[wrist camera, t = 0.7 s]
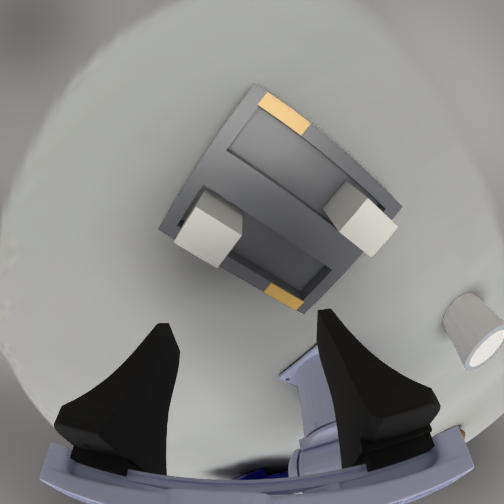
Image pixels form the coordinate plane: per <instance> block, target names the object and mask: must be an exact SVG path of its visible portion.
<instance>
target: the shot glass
mask: <svg viewBox="0 0 504 504" xmlns="http://www.w3.org/2000/svg"><path fill="white" fill-rule="evenodd" d="M443 325H444V327H445V329H446V331H447V333H448V335H449V337H450V339H451V341H452V343H453V345H454V347H455V349H456V351H457V353H458V355H459V357H460V359H461V361H462V363H463V365H464V368H465V370H469V371H471V370H474V369H477V368H478V367H480V366H482V365H483V364H485V363H486V362H487V361H488V360H490V359H491V358H492V357H493V356H494V355H495V354H496V353H497V351H498V350H499V349H500V348H501V346H502V345H503V343H504V321H503V320H502V319H500V318H499V317H498V316H497V315H496V314H495V313H494V312H493V311H492V310H491V309H490V308H489V307H488V306H487V305H486V304H485V303H484V302H482V301H481V300H480V299H479V298H478V297H477V296H476V295H475V294H473V293H472V292H471V293H465V294H463V295H461V296H459V297H458V298H457V299H456V300H455V301H454V302H453V303H452V304H451V305H450V306H449V308H448V309H447V311H446V313H445V315H444V317H443Z"/></svg>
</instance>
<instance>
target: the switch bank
mask: <svg viewBox="0 0 504 504" xmlns="http://www.w3.org/2000/svg"><path fill="white" fill-rule="evenodd" d="M345 181H347V182H348V183H350V184H351V185H352V186H354V187H355V188H356V189H357V190H359V191H360V192H361V193H362V194H364V195H365V196H366V197H367V198H368V199H370V200H371V201H372V202H373V203H374V204H375V205H376V206H377V207H378V208H379V209H380V210H381V211H382V212H383V213H384V214H385V215H386V216H388V217H389V218H390V219H391V220H392V219H393V218H394V216H395V215H396V214H397V213H398V212H399V210H400V209H401V208H402V206H401V205H400V204H399V203H398V202H397V201H396V200H395V198H394V197H393V196H392V195H391V194H390V193H389V192H388V191H387V190H386V189H385V188H384V187H383V186H382V185H381V184H380V183H379V182H377V181H376V180H375V179H374V178H373V177H372V176H371V175H370V174H369V173H368V172H367V171H366V170H365V169H364V168H363V167H362V166H360V165H359V164H358V163H357V162H356V161H355V160H354V159H353V158H352V157H350V156H349V155H348V154H347V153H346V152H345V151H344V150H342V149H341V148H340V147H339V146H338V145H337V144H335V143H334V142H333V141H332V140H331V139H329V138H328V137H327V136H326V135H325V134H323V133H322V132H321V131H320V130H318V129H317V128H316V127H315V126H313V125H312V124H311V123H310V122H308V121H307V120H306V119H305V118H303V117H302V116H301V115H299V114H298V113H297V112H295V111H294V110H293V109H291V108H290V107H288V106H287V105H286V104H284V103H283V102H281V101H280V100H279V99H277V98H276V97H274V96H273V95H271V94H270V93H268V92H267V91H265V90H264V89H262V88H261V87H259V86H258V85H256V84H254V85H253V87H252V88H251V89H250V91H249V92H248V93H247V95H246V96H245V97H244V98H243V100H242V101H241V102H240V104H239V105H238V106H237V108H236V109H235V111H234V112H233V113H232V115H231V116H230V117H229V119H228V120H227V122H226V123H225V124H224V126H223V127H222V129H221V130H220V132H219V133H218V134H217V136H216V137H215V139H214V140H213V142H212V143H211V145H210V146H209V148H208V149H207V151H206V152H205V154H204V155H203V157H202V158H201V160H200V161H199V163H198V164H197V166H196V167H195V169H194V170H193V172H192V174H191V175H190V177H189V178H188V180H187V182H186V183H185V185H184V186H183V188H182V190H181V191H180V193H179V195H178V196H177V198H176V200H175V201H174V203H173V205H172V206H171V208H170V210H169V211H168V213H167V215H166V217H165V218H164V220H163V222H162V224H161V225H160V227H159V229H158V230H160V231H162V232H163V233H165V234H167V235H168V236H170V237H172V238H173V239H176V237H177V235H178V233H179V231H180V229H181V227H182V226H183V224H184V222H185V220H186V218H187V216H188V215H189V213H190V212H191V210H192V209H193V207H194V205H195V204H196V202H197V201H198V199H199V198H200V196H201V195H202V193H203V192H204V190H205V189H206V188H208V189H209V190H211V191H212V192H214V193H216V194H217V195H219V196H220V197H222V198H223V199H225V200H227V201H228V202H230V203H231V204H233V205H234V206H236V207H237V208H239V209H240V210H242V211H243V222H242V236H241V237H240V239H239V240H238V241H237V243H236V244H235V245H234V247H233V248H232V249H231V251H230V252H229V253H228V255H227V256H226V257H225V259H224V260H223V261H222V263H221V264H220V265H219V266H220V267H222V268H224V269H225V270H227V271H229V272H231V273H232V274H234V275H236V276H237V277H239V278H241V279H243V280H244V281H246V282H248V283H250V284H251V285H253V286H255V287H257V288H258V289H260V290H262V291H263V292H264V293H266V294H267V295H269V296H271V297H273V298H274V299H276V300H278V301H280V302H282V303H283V304H285V305H287V306H289V307H291V308H292V309H294V310H297V311H299V312H301V313H303V314H305V313H306V312H307V311H308V310H309V309H310V308H311V307H312V306H313V305H314V304H315V303H316V302H317V301H318V300H319V299H320V298H321V297H322V296H323V295H324V294H325V293H326V292H327V291H328V289H329V288H330V287H331V286H332V285H333V284H334V283H335V282H336V281H337V280H338V279H339V278H340V277H341V276H342V275H343V274H344V273H345V272H346V271H347V270H348V268H349V267H350V266H351V265H352V264H353V263H354V262H355V261H356V260H357V259H358V258H359V257H360V255H361V254H362V253H363V252H364V251H362V250H361V249H360V248H359V247H357V246H356V245H355V244H354V243H352V242H351V241H350V240H349V239H347V238H346V237H345V236H344V235H342V234H341V233H340V232H339V231H338V230H337V228H336V227H335V225H334V224H333V222H332V221H331V220H330V218H329V217H328V215H327V214H326V212H325V211H324V210H323V208H324V206H325V205H326V204H327V203H328V202H329V200H330V199H331V198H332V197H333V196H334V194H335V193H336V192H337V191H338V189H339V188H340V187H341V186H342V185H343V183H344V182H345Z"/></svg>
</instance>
